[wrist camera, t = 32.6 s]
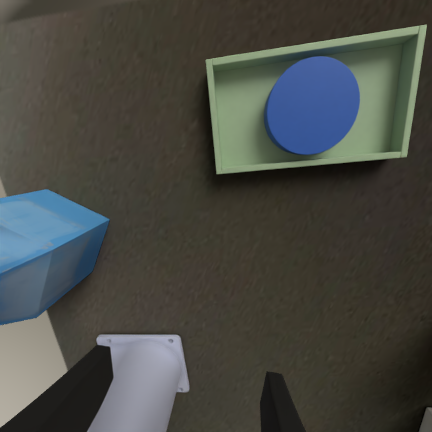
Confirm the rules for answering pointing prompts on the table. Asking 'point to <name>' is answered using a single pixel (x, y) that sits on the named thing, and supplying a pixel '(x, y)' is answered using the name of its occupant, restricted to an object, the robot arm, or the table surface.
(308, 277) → the table surface
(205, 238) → the table surface
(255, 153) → the tray
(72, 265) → the perfume bottle
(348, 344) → the table surface
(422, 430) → the small box
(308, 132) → the lid
